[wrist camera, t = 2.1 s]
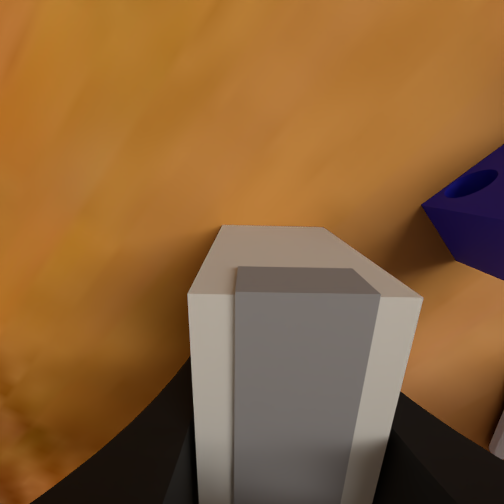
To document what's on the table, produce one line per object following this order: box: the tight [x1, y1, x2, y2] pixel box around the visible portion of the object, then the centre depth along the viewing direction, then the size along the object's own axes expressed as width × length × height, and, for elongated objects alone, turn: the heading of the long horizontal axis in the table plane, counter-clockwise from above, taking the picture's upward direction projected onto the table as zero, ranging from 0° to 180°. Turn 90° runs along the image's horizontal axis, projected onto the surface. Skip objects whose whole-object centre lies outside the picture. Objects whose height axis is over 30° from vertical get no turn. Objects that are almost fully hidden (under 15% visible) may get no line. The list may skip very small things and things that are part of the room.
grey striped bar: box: [187, 225, 423, 504], centre depth 9 cm, size 4×10×6 cm, turn 179°
